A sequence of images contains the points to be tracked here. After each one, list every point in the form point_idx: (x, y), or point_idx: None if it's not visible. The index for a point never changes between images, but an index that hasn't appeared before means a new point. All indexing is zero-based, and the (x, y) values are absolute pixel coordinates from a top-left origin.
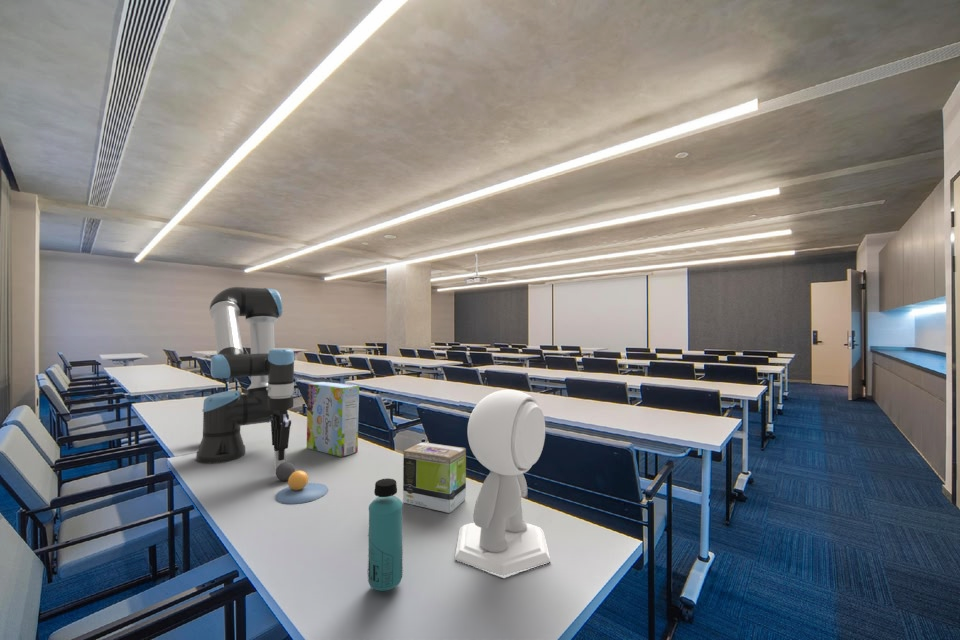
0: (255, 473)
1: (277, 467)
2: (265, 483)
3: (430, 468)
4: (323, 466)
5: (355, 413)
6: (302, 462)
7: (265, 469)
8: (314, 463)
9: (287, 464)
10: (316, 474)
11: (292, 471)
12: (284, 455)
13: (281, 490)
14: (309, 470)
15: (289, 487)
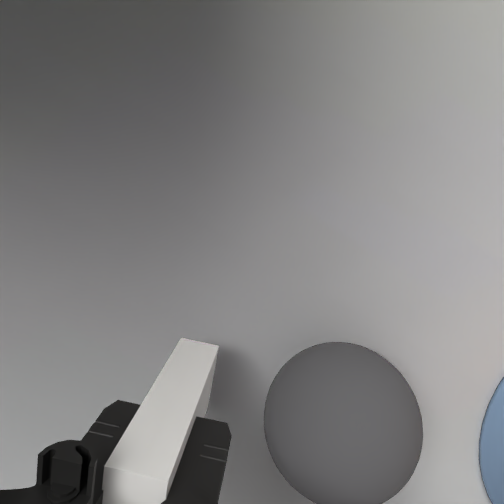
0: (47, 415)
1: (313, 501)
2: (275, 471)
3: None
4: (316, 8)
5: None
6: (63, 78)
7: (16, 342)
8: (171, 17)
9: (393, 477)
10: (439, 175)
11: (418, 408)
12: (190, 423)
13: (494, 494)
14: (300, 156)
15: (498, 444)
